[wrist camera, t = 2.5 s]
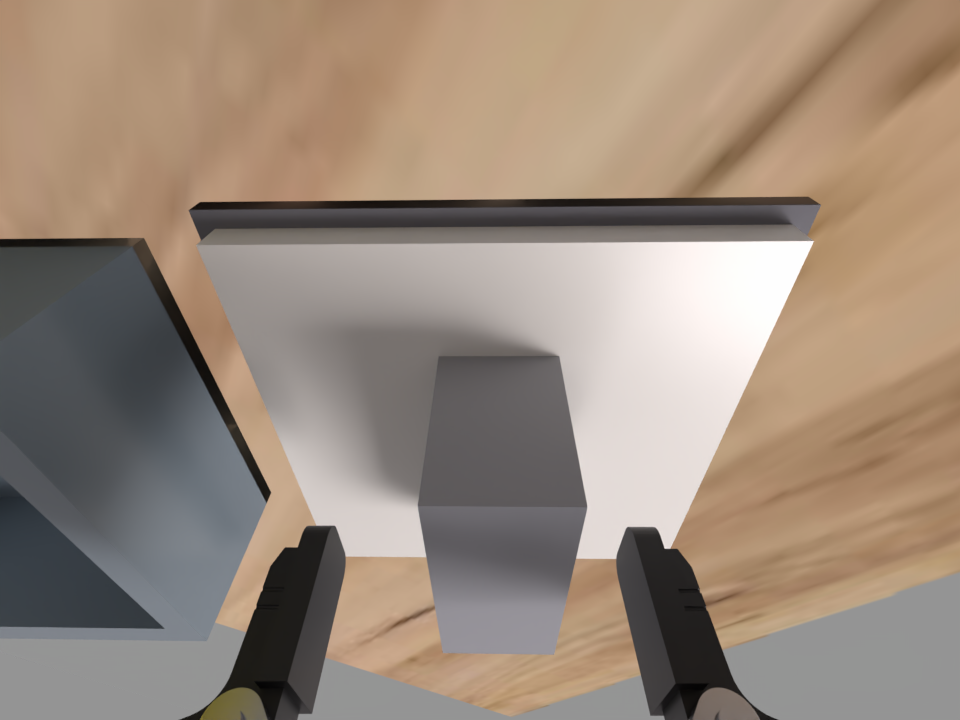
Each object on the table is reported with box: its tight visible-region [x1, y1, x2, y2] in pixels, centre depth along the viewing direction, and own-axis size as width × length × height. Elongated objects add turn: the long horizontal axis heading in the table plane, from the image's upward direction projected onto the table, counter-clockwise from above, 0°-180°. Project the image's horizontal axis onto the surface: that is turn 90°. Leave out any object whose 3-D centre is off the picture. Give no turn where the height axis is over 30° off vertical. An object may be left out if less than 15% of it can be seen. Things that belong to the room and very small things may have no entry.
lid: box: [196, 224, 814, 655], centre depth 14 cm, size 15×15×6 cm
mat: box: [189, 197, 821, 241], centre depth 17 cm, size 16×16×1 cm
